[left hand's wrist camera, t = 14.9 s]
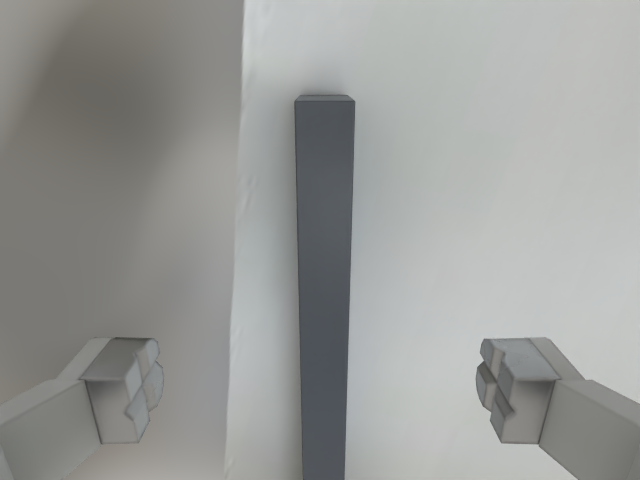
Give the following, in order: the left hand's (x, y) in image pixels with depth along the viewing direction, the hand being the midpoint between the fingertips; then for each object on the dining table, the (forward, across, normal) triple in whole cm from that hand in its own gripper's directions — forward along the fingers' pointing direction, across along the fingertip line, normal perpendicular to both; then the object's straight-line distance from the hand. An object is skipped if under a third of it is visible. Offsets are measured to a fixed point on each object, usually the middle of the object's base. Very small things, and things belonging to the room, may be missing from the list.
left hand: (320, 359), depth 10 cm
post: (+29, 0, -21) cm, 36 cm away
